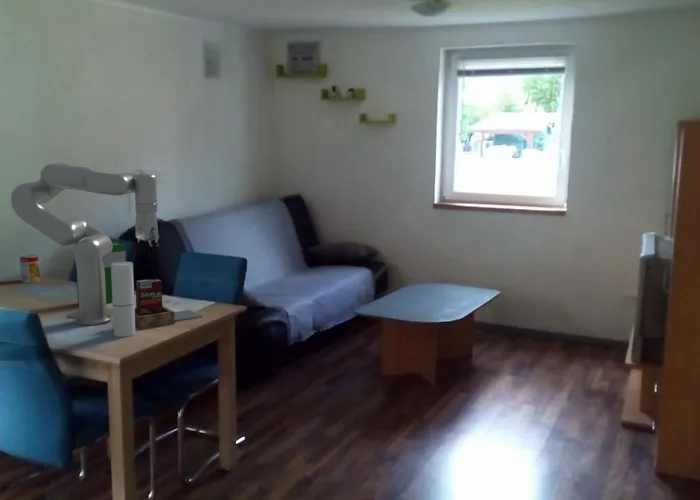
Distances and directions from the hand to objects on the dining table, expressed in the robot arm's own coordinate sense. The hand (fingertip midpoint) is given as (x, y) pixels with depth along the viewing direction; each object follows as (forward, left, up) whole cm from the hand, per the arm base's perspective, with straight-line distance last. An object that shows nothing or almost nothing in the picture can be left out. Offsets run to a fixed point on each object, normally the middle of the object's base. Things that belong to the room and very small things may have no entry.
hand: (148, 255), depth 250 cm
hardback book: (-3, +41, -26) cm, 49 cm away
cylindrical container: (-13, -9, -26) cm, 30 cm away
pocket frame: (0, 0, -25) cm, 25 cm away
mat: (+13, +1, -25) cm, 29 cm away
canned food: (-16, +100, -26) cm, 105 cm away
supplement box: (0, 0, -26) cm, 26 cm away
